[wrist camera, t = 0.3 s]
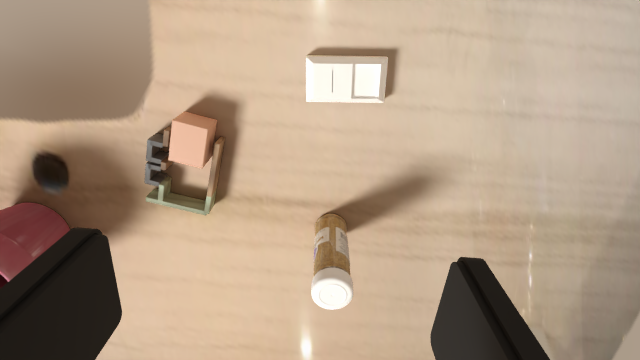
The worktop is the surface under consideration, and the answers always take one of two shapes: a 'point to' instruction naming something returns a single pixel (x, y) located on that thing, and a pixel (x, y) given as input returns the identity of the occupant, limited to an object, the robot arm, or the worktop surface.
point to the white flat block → (346, 78)
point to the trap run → (153, 177)
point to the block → (192, 139)
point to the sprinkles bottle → (331, 264)
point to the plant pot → (26, 236)
